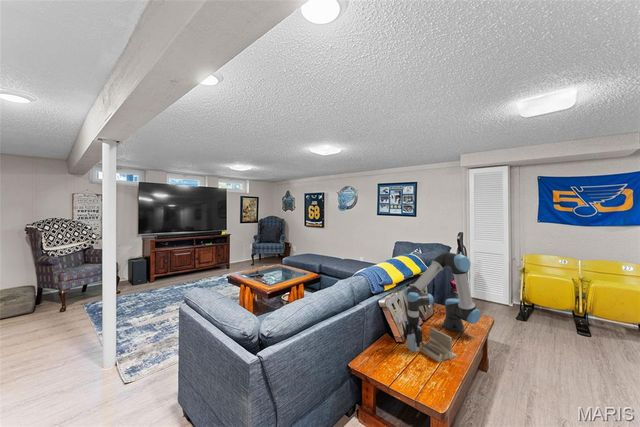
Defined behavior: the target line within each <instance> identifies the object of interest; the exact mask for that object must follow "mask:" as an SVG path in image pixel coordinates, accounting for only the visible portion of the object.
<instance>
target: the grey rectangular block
mask: <svg viewBox="0 0 640 427" xmlns="http://www.w3.org/2000/svg"><path fill="white" fill-rule="evenodd" d="M415 342H416V338H415V334H414V332H412V333H411V334H410V335H406V347H407V349H408V350H410V351H411V352H413V353H416V351H415ZM419 351H421V346H420V347H419Z"/></svg>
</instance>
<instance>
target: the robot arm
mask: <svg viewBox="0 0 640 427" xmlns="http://www.w3.org/2000/svg"><path fill="white" fill-rule="evenodd" d="M445 268H448V269H450V273H451V275H453V277H454V278H453V279H454V282H455V289H456V292H457V296H458V298H447V299H445V302H444V303H445V305H444V306H445V307H444V308H445V318H444V320H443V322H442V327H443V328H444V329H446V330H448V331H451V332H455V333H461V332H464V331H465V326H464V323H463V321H464V322H467V323H469V324H472V325H475V324H477V323H478V322H479V321H480V320H481V318H482V312H481V311H480V310H479V309H478V308H477V307H476V303H475V302H473V299H472V295H471V289H470V284H469V280H468V276H467V274H468V273H469V270H470V268H471V261H470V259H469V257H468V256H466V255H463V254H460V253H459V254H458V253H453V252H450V251H449V252H443V253H440V254H438V255H437V256H436V257H435V258H434V259H432V261H431V264H430V265H429V266H428V268H426V270H425V271H424V272H423V273H422V274H421V275H420V277H419V278H418V279H417V280H416V281H415V282H414V283H413V284H412V285H411V287H406V288H405V289H404V291H403V294H404V296H405V298H406V299H407V320H405V321H404V323H405V328H404V329H405V330H404V334H405V336H407V335H410V334H413V333H414V334H415V338H416V342H415V351H416V352H417V353H418V352H420V350H419V347H420V348H421V344H422V343H423V327H421V326H419V322H420V307H425V306H429V305H433V303H434V301H435V300H434V296H433V295H432V294H431V293H423V291H424V290H425V288H427V286H428V285H429V284H430V283H431V281H433V279H434V278H436V276H437V275H438V273H440V272H441V271H443V270H444V269H445ZM416 352H415V353H416Z"/></svg>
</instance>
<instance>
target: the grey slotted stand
mask: <svg viewBox="0 0 640 427" xmlns="http://www.w3.org/2000/svg"><path fill="white" fill-rule="evenodd" d="M452 339H453V337H451V336H450V335H448V334H446V333H443V332H442V331H439V330H438V329H435V328H433V327H430V328H429V342H428V343H426V344H425V343H424V342H421V352H422V353H423V354H425V355H426V356H427V357H430V358H431V359H432V360H434V361H436V362H437V363H441V362H442V363H443V362H444V361H446V360H453V359H456V358H458V355H457V354H456V353H454V352H453V348H452V347H453V346H452V345H453V342H452V341H453V340H452Z"/></svg>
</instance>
